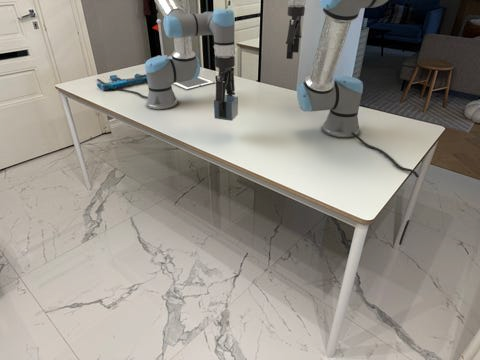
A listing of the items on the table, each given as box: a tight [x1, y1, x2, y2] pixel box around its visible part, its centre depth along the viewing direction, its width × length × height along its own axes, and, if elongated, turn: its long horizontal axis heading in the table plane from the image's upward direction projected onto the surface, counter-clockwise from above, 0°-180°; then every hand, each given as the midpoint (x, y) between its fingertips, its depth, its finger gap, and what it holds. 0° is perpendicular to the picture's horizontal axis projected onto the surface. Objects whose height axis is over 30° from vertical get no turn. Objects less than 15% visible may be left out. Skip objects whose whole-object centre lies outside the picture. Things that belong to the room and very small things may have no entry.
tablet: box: [172, 75, 215, 90], centre depth 212 cm, size 32×20×1 cm, turn 41°
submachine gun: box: [96, 73, 148, 91], centre depth 208 cm, size 34×4×25 cm
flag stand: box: [151, 18, 172, 59], centre depth 235 cm, size 13×13×30 cm
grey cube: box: [213, 94, 239, 122], centre depth 138 cm, size 8×7×8 cm
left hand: (226, 113), depth 139 cm, fingers closed on grey cube, 7 cm apart
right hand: (292, 55), depth 163 cm, fingers open, 13 cm apart
